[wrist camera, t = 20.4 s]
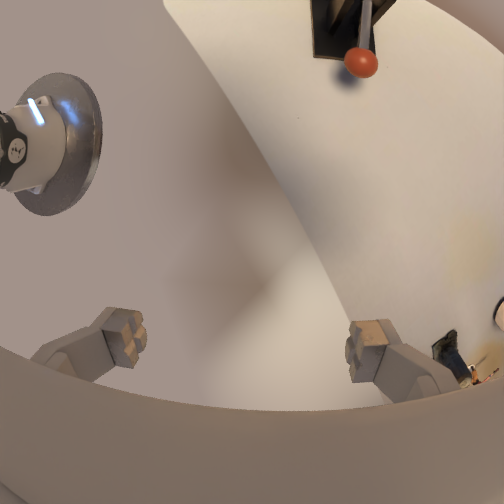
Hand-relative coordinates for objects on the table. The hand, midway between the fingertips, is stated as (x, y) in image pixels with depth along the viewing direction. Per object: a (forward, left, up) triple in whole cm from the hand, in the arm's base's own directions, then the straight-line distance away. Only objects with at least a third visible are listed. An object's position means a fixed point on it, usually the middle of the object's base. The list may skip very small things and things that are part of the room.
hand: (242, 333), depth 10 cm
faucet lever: (+7, +24, -22) cm, 34 cm away
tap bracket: (+6, +28, -31) cm, 42 cm away
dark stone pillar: (+45, -23, -31) cm, 59 cm away
